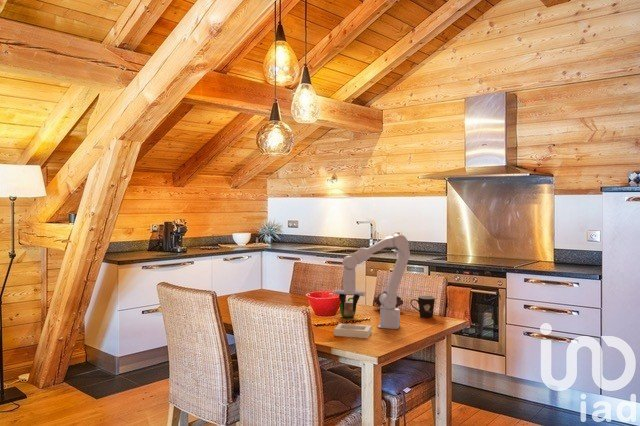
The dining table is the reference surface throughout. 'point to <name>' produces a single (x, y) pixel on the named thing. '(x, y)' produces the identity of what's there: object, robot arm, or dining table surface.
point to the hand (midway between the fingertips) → (349, 310)
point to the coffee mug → (425, 306)
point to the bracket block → (348, 308)
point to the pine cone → (398, 299)
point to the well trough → (353, 330)
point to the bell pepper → (343, 311)
